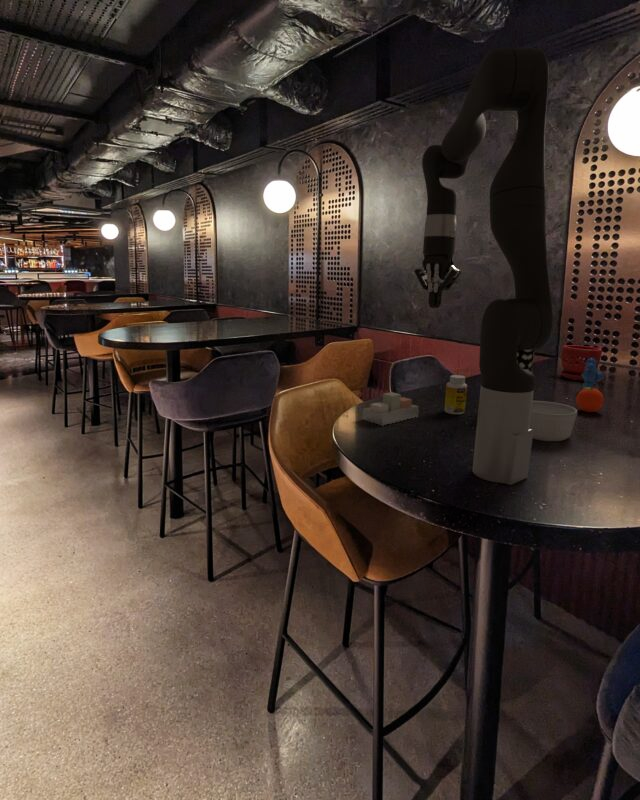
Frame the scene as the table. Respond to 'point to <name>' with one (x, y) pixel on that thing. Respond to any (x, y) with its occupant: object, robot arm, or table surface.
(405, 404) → the key terracotta
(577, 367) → the plant pot
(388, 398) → the key sage
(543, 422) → the ramekin
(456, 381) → the supplement bottle
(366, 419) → the keypad frame
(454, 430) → the table surface
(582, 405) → the clementine
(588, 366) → the grapes
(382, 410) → the key ivory
